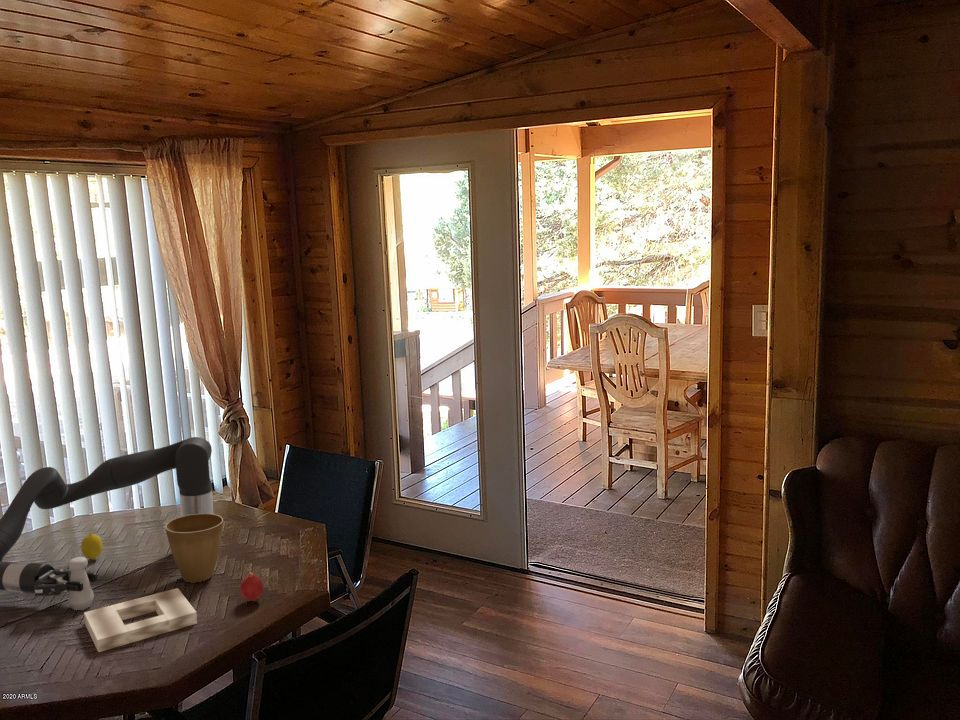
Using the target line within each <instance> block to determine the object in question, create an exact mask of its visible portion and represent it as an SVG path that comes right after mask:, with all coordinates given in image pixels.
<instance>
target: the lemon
mask: <svg viewBox="0 0 960 720" xmlns="http://www.w3.org/2000/svg"><path fill="white" fill-rule="evenodd" d="M103 547H104V546H103V541H102V539H101V537H100V536H99V535H97V534H93V533H89V534H88V535H86V536H85V537H84V538H83V539H82V541H81V546H80V549H81V553H82V555H83V557H85V558H86V559H89V560H92V561H94V560H95V559H96V558H97V557H99V556H100V555H101V554H102V551H103Z"/></svg>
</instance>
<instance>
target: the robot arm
mask: <svg viewBox="0 0 960 720" xmlns="http://www.w3.org/2000/svg"><path fill="white" fill-rule="evenodd" d="M212 449H213V448H212V445H211V443H210V441H208V440H207V439H205V438H203V437H201V436H200V437H199V436H198V437H197V436H192V437H188V438H186V439H183V440H181V441H177V442H175V443H171V444H169V445H167V446H163V447H160V448H159V447H158V448H153V449H148V450H144V451H139V452H134V453H129V454H125V455H120V456H117V457H112V458H108V459H106V460H104V461H103V462H101V464H100V465H98V466H97V467H96V468H95V469H94V470H93V471H92V472H91V473H90V474H89V475H87V476H86V477H85V478H84V479H82V480H79V481H76V482H73V483H67V484H66V482H65V480H64V479H63V478H62V477H63V476H61V474H60V473H59V471H58V469H56V468H54V467H51V466H47V467H40V468H39V469H36V470H35V471H34V472H32V473H31V474H30V475H29V476H28V477H27V479H26V480H25V481H24V483H22V485H21V487H19V490H18V491H17V493H16V495H15V496H14V498H13V499H12V501H11V503H10V504H9V506H8V507H7V509H6V510H5V512H4V514H3V515H2V516H1V518H0V591H9V592H14V593H22V594H23V593H24V594H33V595H34V596H36V597H45V596H46V597H47V596H49V597H50V596H60V595H61V594H62V593H67V592H69V591H82V590H83V583H82V582H74V581H70V579H71V570H70V569H69V567H68V566H67V568H65V569H64V568H56V569H55V568H54V567H53V566H52V565H51V564H50V563H45V562H29V561H28V562H27V561H19V562H15V561H14V562H13V561H3V559H4V557H5V556H7V554H8V553H9V551H10V550H12V548H13V547H14V546H15V545H16V543H17V542H18V541H19V539H20V538H21V535H22V533H23V530H24V528H25V525H26V522H27V518H28V515H29V513H30V511H31V508H32V506H33V504H35V506H36V507H38V509H41V510H51V509H55V508H59V507H62V506H65V505H68V504H71V503H73V502H76V501H79V500H82V499H85V498H87V497H88V498H89V497H92V496H95V495H99V494H102V493H106V492H110V491H114V490H118V489H122V488H127V487H130V486H135V485H138V484H141V483H143V482H145V481H147V480H150V479H152V478H154V477H156V476H158V475H160V474H162V473H164V472H168V471H172V470H175V474H176V482H177V486H178V490H179V491H178V492H179V504H180V506H179V507H180V508H179V509H180V517H182V516H186V515H192V514H215V513H214V502H213V501H214V500H213V487H212V485H213V484H212V480H211V478H210V465H209V464H210V463H209V460H210V459H211V456H212V453H213V451H212ZM85 570H86V573H87V576H88V579H89V582H90V583H91V582H92V583H95V582H97V581H98V574H97V572H94V571H92V572H91V571H87V567H86V568H85Z"/></svg>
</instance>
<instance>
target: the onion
mask: <svg viewBox="0 0 960 720" xmlns="http://www.w3.org/2000/svg"><path fill="white" fill-rule="evenodd" d="M264 587H265V586H264V583H263V581H262V578H261V577H259V576H258V575H257V574H254V573H253V572H249V574H248V575H247V576H246V577H245V578H244V579H243V580H242V581H241V584H240V588H239V589H240V590H239V591H240V594H241V596H242V597H243V598H244V599H245V600H247V601H249V602H250V601H254V602H255V601H257V600H258V599H260V597H261V596H262V594H263V592H264V591H265V588H264Z"/></svg>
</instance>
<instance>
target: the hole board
mask: <svg viewBox="0 0 960 720" xmlns="http://www.w3.org/2000/svg"><path fill="white" fill-rule="evenodd" d="M154 612H156V614H157V615H156V616H152V617H149V618H145V619H142V620H138V621H135V622H132V623H127V624H125V623H124V622H123V621H126V620H129V619H132V618H136V617H140V616H144V615H147V614H151V613H154ZM83 614H84V615H83V617H84V625H85V628H86V629H87V631H88V633H89V635H90V637H91V640H92V642H93V644H94V646H95V648H96V650H97V652H98V653H101V652H104V651H108V650H111V649H115V648H118V647H121V646H125V645H129V644H131V643H135V642H139V641H142V640H145V639H149V638H152V637H156V636H160V635H163V634H166V633H169V632H173V631H176V630H180V629H182V628H186V627H190V626H192V625H197V624H198V614H197V610H196V609H195V608H194V607H193V606H192V604H191V603H190V602H189V601H188V599H187V598H186V597H185V596H184V594H183V592H182V591H181V590H180V589H179V588H178V587H177V588H173V589H170V590H164V591H162V592H161V591H160V592H157V593H154V594H150V595H145V596H142V597H138V598H135V599H130V600H126V601H123V602H119V603H115V604H112V605H108V606H103V607H99V608H96V609H92V610H89V611H88V610H87V611H84V612H83Z"/></svg>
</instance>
